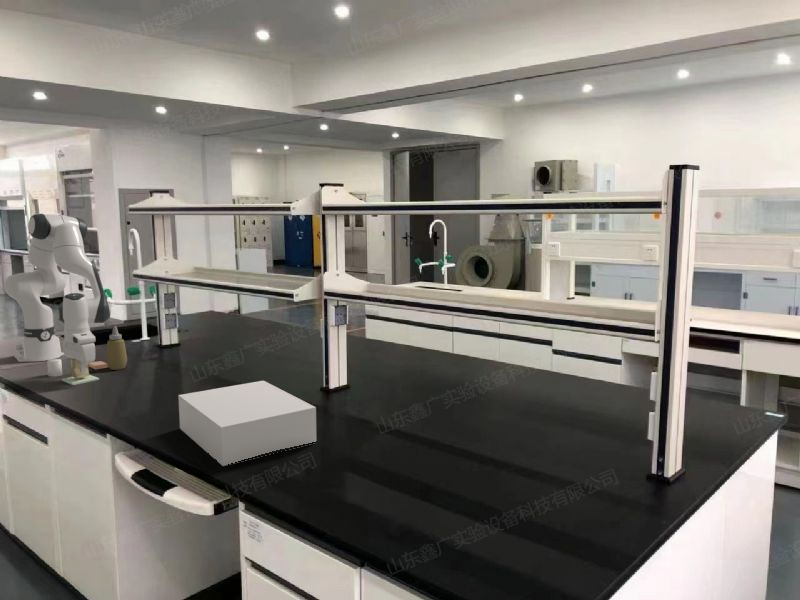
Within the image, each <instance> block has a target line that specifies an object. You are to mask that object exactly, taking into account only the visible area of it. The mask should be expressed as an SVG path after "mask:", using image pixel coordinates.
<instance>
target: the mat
mask: <svg viewBox="0 0 800 600" xmlns="http://www.w3.org/2000/svg"><path fill="white" fill-rule="evenodd" d="M99 380H100V378H99V377H97V376H94V375H92V374H89V376H87V377H82V378H75V377H72V376H71V377H67V378H62V379H61V381H62V382H64V383H67V384H69V385H71V386H75V385H81V384H85V383H92V382H95V381H99Z"/></svg>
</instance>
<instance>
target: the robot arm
mask: <svg viewBox="0 0 800 600" xmlns="http://www.w3.org/2000/svg"><path fill="white" fill-rule="evenodd" d="M27 228H28V234H29V235H30V236H31V242H30V246H29V248H28V249H29V250H28V255H27V259H28V262H29V263H30V264H31V265H32V266H34V267H35V268H36V269H35V270H34V271H29V272H19V273H15V274H12V275H9V276H7V277H6V279H5V280H4V283H3V288H4V291H5V293H6V295H8V296H9V298H12V299H13V300H15V301H16V302H17V303H18V305H19V306H20V309H21V311H22V314H23V315H22V316H23V320H24V328H23V338H22V340H21V341H20V342H19V343H18V344H17V345H16V351H19V352H17V353H14V354H13V357H14V358H15V360H16V361H17V362H19V363H24V362H26V363H27V362H44V361H48V360H52V359H59V358H60V357H62V356H65V357H67V358H70V360H71V359H75V360H78V361H80V364H81V367H80V371H81V372H86V366H87V363H92V362H95V360H96V346H95V343H96V341H97V340H96V336H95V335H94V334H93V333H92V331H91V329H90V324H93V323H94V324H104V323H106V321H108V320H109V319H110V318H111V314H112V313H111V311H112V310H111V306H110V303H109V302H108V300H107V297H106V293H105V289H104V288H103V284H102V281H101V278H100V273H99V271H98V268H97V266H96V263H95V262H94V261H93V260H90V259H89V258H88V256H87V255H86V253H85V245H84V240H85V239H86V238H87V236H88V224H87V223H86V221H85V220H84V219H82V218H79V217H76V216H75V217H73V216H69V215H63V214H44V213H34V214H32V216H31V217H30V218H29V221H28V224H27ZM58 267H59V268H60V269H61V270H63V271H65V272H68V273H71V274H73V275H78V276H82V277H83V278H85V279H86V280H87V281H88V282H89V285H90V288H91V291H92V294H93V298H89V299H88V298H86V295H85V294H83V293H79V292H75V293H72V292H71V293H67V294H66V295H64V296H63V298H62V302H61V303H60V304H59V305H58V306H57V309H58V314H59V315H58V316H59V318H58V320H59V321H60V322H61V323H62V324H64V325H63V334H64V335H63V337H64V338H63V341H62V346H63V347H62V349H63V350H61V343H60V338H59V337H58V335H57V336H56V327H55V325H54V314H53V310H52V308H51V307H50V306H49V305H46V304H44V303H43V302H42V301H41V298H40V297H43V296H51V295H55V294H59V293H60V292H63V291H64V289H65V288H66V286H67V285H66V284H67V281H66V277H65V276H64V274H63V273H62V272H60V271H59V269H58Z"/></svg>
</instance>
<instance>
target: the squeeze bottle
mask: <svg viewBox="0 0 800 600" xmlns="http://www.w3.org/2000/svg"><path fill="white" fill-rule="evenodd" d="M111 332H112V333H111V334H109V340H108V341H107V342H106V343H107V344H106V363H107V366H108V368H109V370H111V371H112V370H113V371H117V370H118V371H119V370H120V371H121V370H123V369H125V368H126V366H127V362H128V355H127V349H126V344H125V340H124V339H123V338H122V334H121V333H119V331H118V327H117V325H114V326H113V327H112V331H111Z"/></svg>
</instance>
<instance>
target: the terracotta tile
mask: <svg viewBox="0 0 800 600" xmlns="http://www.w3.org/2000/svg"><path fill="white" fill-rule="evenodd" d="M88 368H90V369H93V370H100V369H105V368H109V366H108V363H107V362H105V361H102V360H100V361H94V362H91V363H88Z"/></svg>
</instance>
